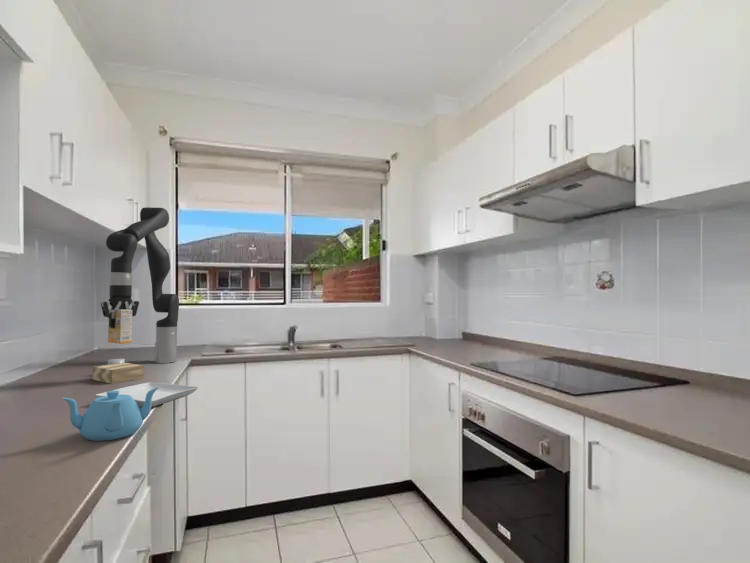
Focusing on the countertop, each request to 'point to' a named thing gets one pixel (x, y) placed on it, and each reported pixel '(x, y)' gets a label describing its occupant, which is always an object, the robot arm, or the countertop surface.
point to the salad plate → (160, 395)
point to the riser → (118, 372)
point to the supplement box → (121, 327)
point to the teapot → (110, 416)
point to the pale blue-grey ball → (116, 361)
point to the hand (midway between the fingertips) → (119, 327)
